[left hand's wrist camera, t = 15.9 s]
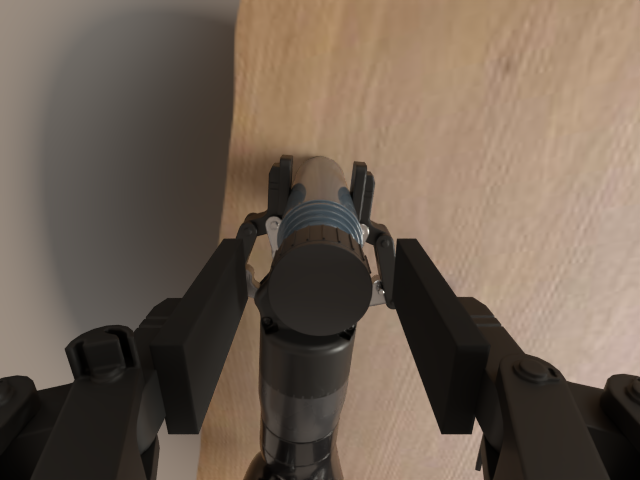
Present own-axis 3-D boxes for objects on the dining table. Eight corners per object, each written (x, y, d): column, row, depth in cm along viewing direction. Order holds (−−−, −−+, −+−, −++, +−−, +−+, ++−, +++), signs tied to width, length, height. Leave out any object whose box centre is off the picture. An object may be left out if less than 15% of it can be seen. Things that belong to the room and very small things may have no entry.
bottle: (286, 170, 30) (242, 263, 13) (330, 147, 29) (346, 212, 12) (309, 213, 31) (297, 347, 14) (352, 192, 30) (394, 306, 13)
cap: (318, 324, 15) (317, 354, 14) (252, 266, 14) (242, 290, 13) (386, 269, 14) (396, 294, 13) (321, 203, 13) (322, 219, 12)
